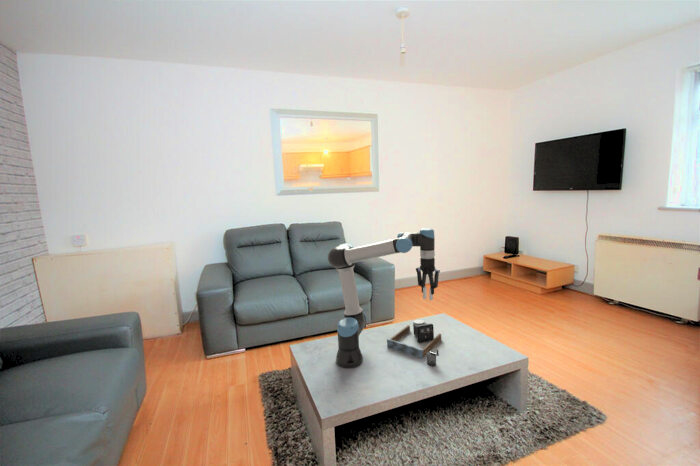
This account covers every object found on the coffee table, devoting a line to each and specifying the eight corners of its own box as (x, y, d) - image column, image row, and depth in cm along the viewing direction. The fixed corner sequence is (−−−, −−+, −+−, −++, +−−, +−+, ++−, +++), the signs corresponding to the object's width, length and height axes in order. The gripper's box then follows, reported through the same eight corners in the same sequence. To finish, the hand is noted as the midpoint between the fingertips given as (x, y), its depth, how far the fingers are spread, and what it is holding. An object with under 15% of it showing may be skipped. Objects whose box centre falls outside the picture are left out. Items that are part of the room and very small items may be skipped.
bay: (387, 347, 192) (386, 339, 191) (408, 330, 212) (408, 323, 211) (422, 358, 177) (422, 350, 176) (441, 340, 197) (441, 332, 196)
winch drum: (425, 364, 171) (424, 348, 170) (429, 360, 175) (429, 344, 174) (436, 368, 167) (436, 352, 166) (440, 364, 171) (440, 348, 170)
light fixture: (424, 333, 209) (423, 317, 208) (434, 341, 196) (434, 324, 195) (409, 335, 206) (408, 319, 205) (418, 344, 193) (417, 327, 192)
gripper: (410, 257, 172) (411, 298, 175) (438, 260, 161) (439, 304, 165) (417, 254, 177) (417, 294, 181) (444, 257, 167) (444, 299, 171)
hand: (427, 299), depth 173 cm, fingers open, 3 cm apart
